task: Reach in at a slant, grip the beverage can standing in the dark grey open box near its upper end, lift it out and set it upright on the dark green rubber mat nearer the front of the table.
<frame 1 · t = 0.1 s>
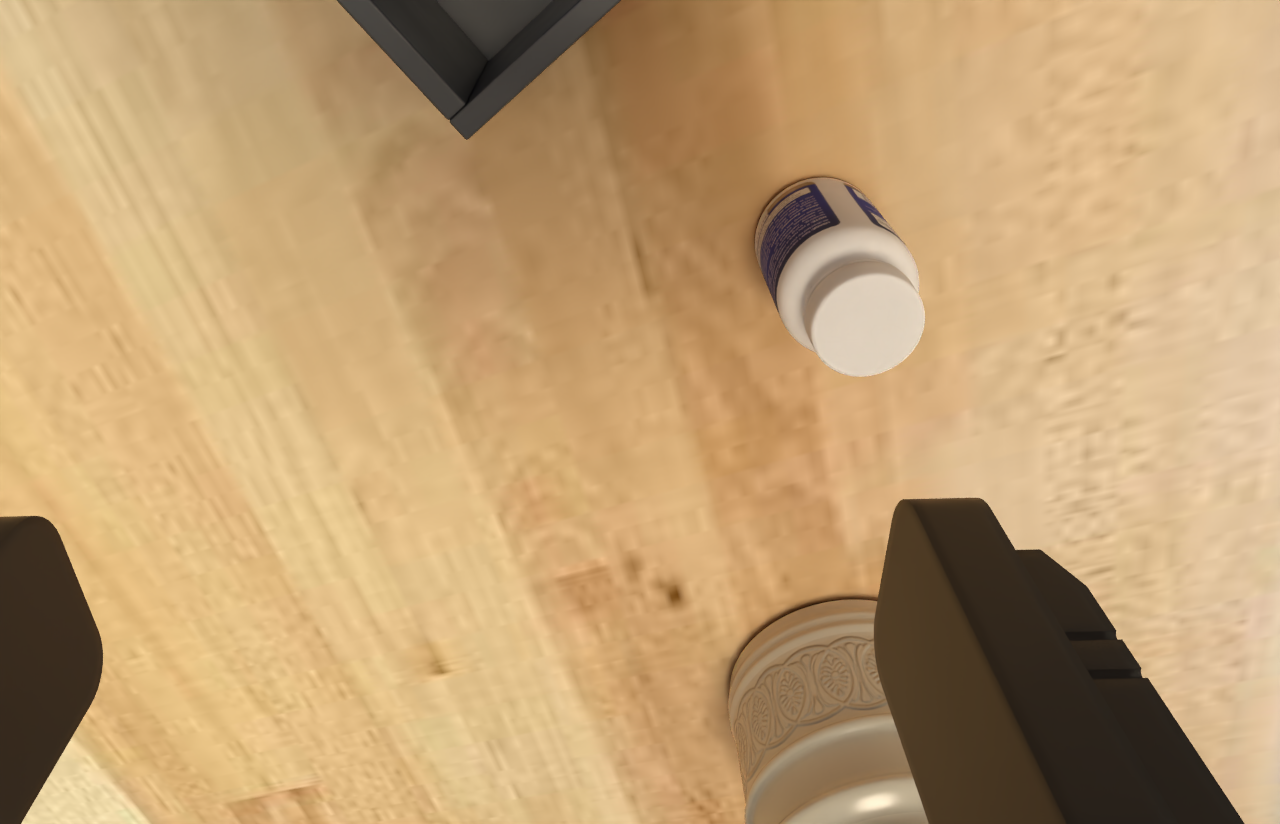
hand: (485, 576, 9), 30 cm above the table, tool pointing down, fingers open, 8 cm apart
jar: (836, 674, 54), on the table
pill bottle: (814, 234, 40), on the table
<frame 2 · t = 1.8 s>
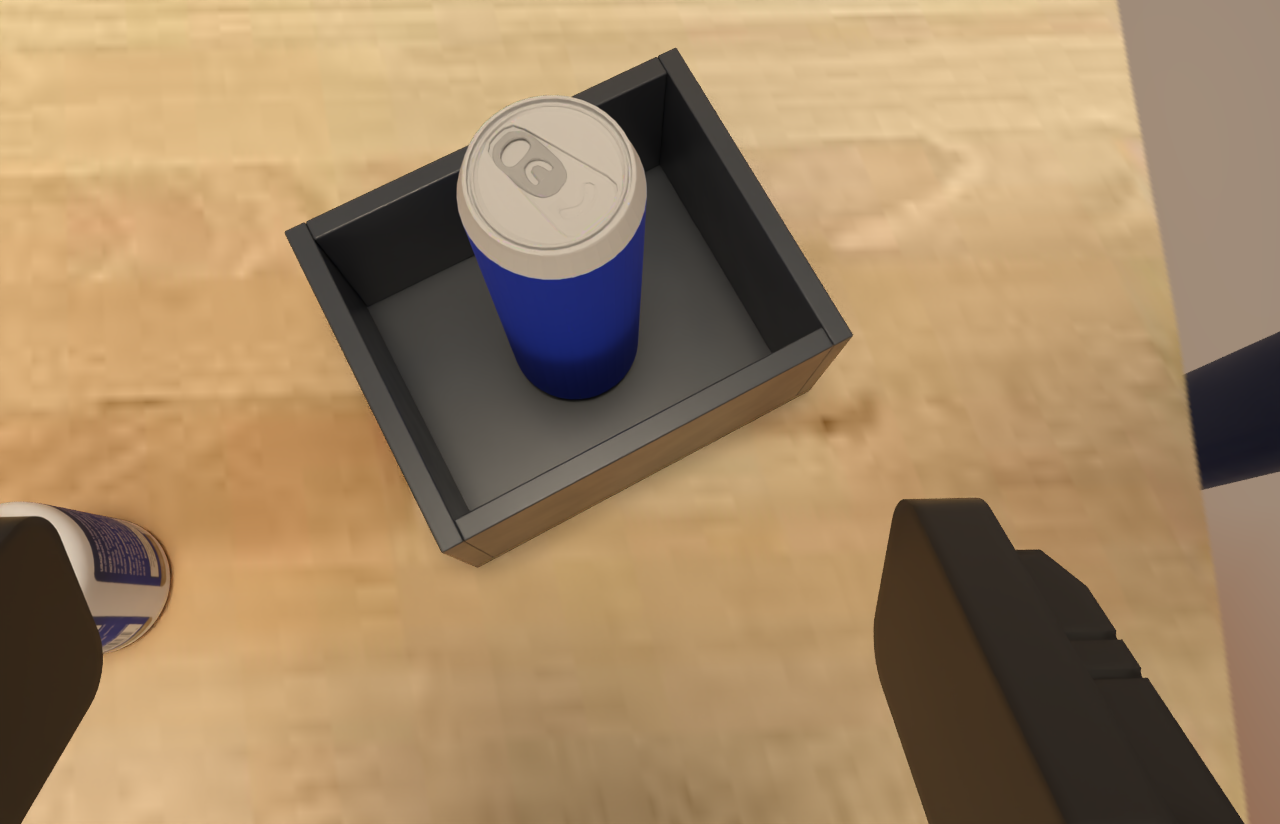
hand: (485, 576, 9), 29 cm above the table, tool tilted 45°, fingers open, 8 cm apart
beverage can: (576, 344, 39), resting on dark grey open box
dark grey open box: (576, 347, 40), on the table
pill bottle: (108, 586, 37), on the table
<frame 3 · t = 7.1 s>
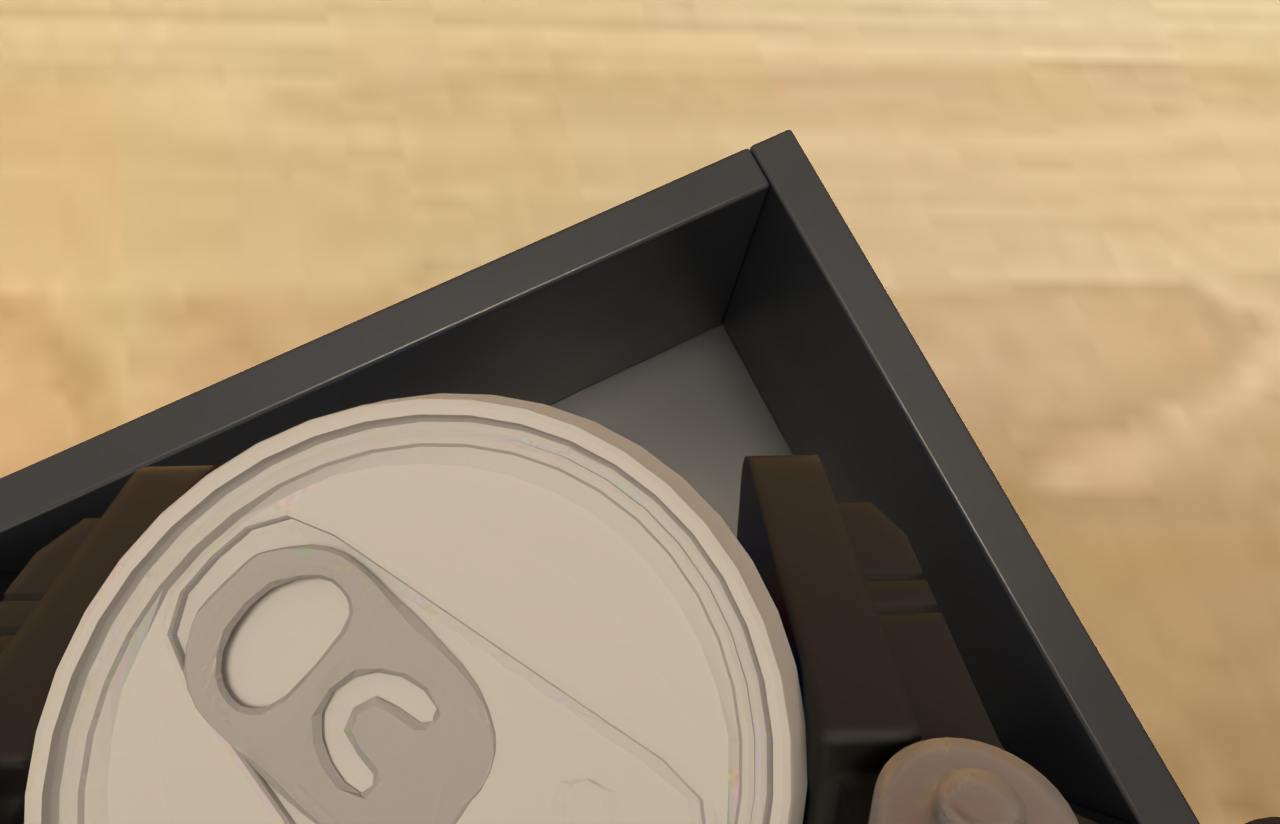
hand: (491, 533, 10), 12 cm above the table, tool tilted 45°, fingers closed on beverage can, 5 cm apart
beverage can: (554, 675, 20), resting on dark grey open box, touching gripper
dark grey open box: (555, 675, 21), on the table
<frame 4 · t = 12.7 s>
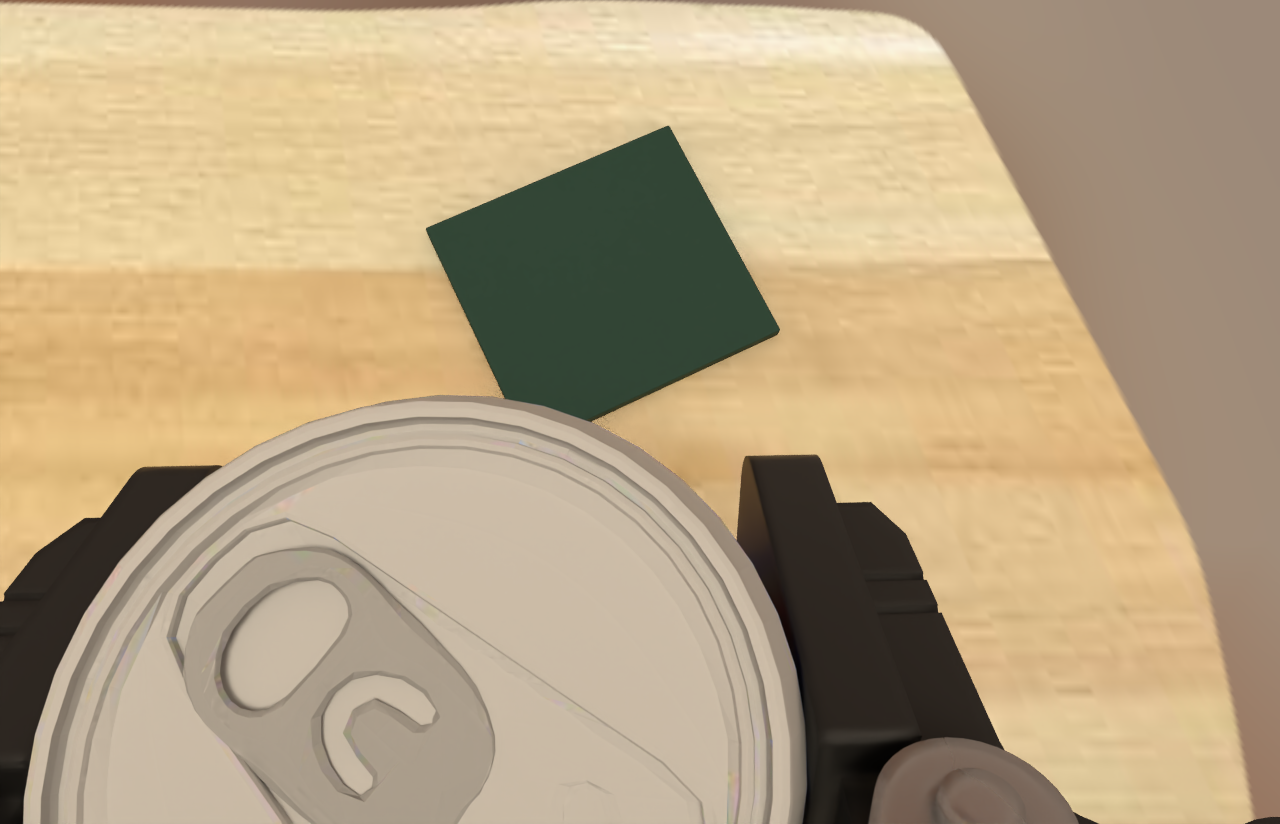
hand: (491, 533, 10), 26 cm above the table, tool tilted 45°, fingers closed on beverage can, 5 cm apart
beverage can: (554, 676, 20), point 15 cm above the table, touching gripper
mat: (601, 283, 38), on the table
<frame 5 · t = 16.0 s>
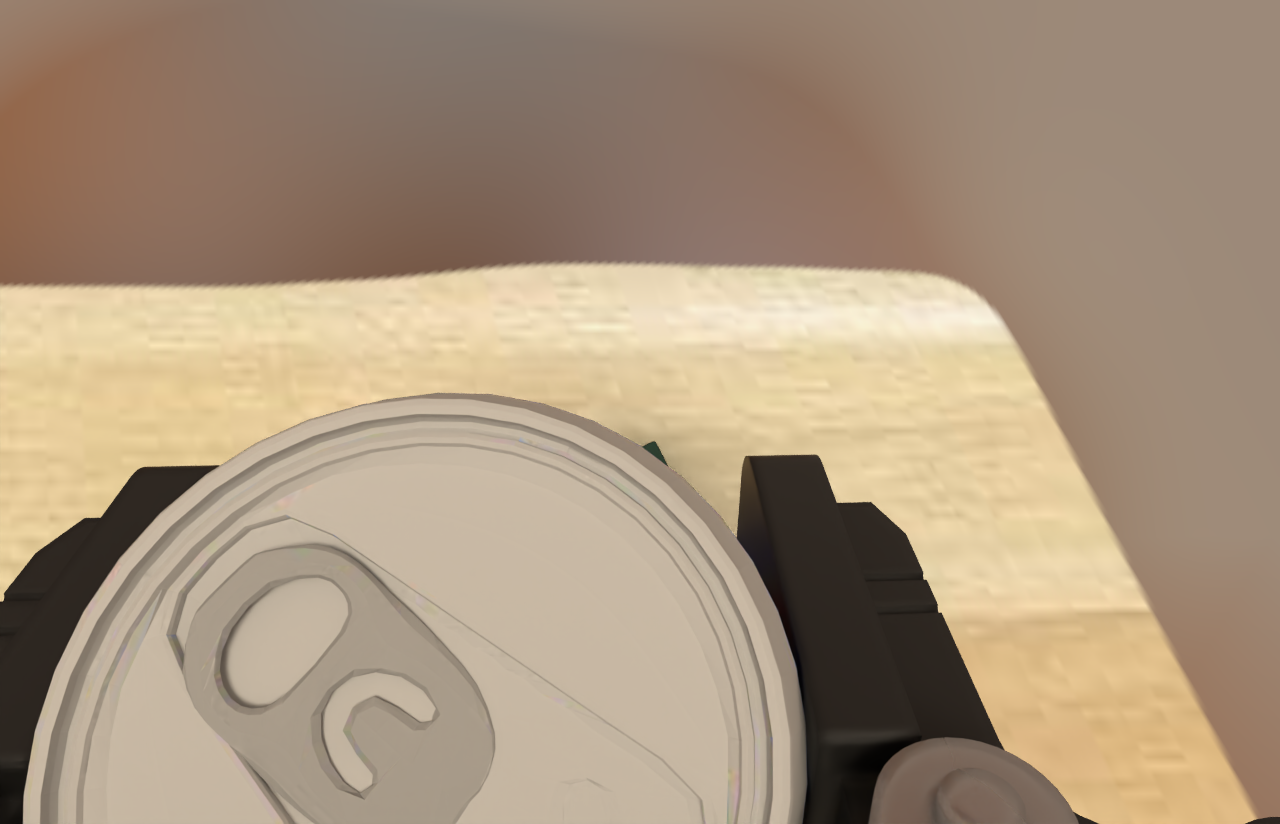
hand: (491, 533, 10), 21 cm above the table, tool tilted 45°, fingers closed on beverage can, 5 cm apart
beverage can: (554, 675, 20), point 9 cm above the table, touching gripper
when the fingers open (12 cm above the table, at t = 18.8 s): beverage can stays where it is, resting on mat.
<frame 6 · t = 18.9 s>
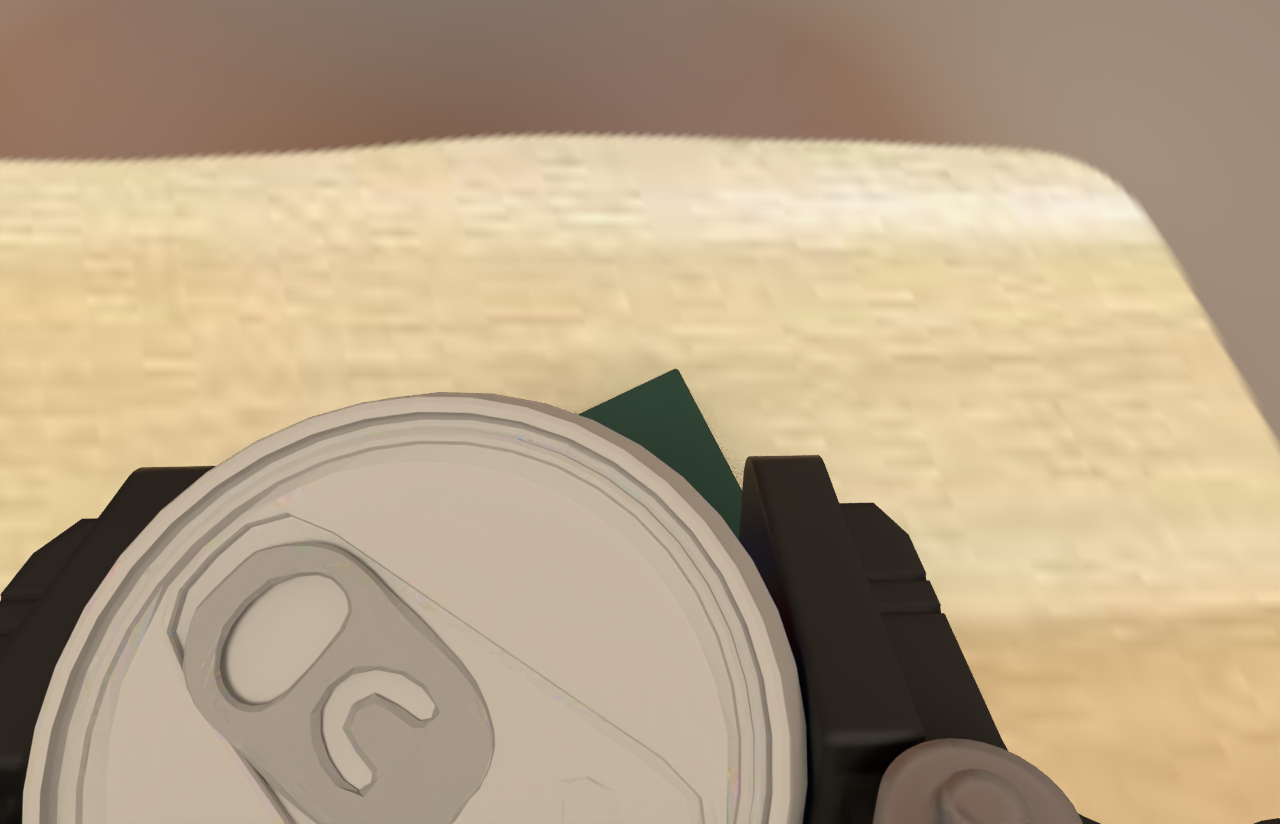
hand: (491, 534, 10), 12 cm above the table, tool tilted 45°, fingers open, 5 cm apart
beverage can: (556, 680, 20), resting on mat
mat: (557, 672, 21), on the table
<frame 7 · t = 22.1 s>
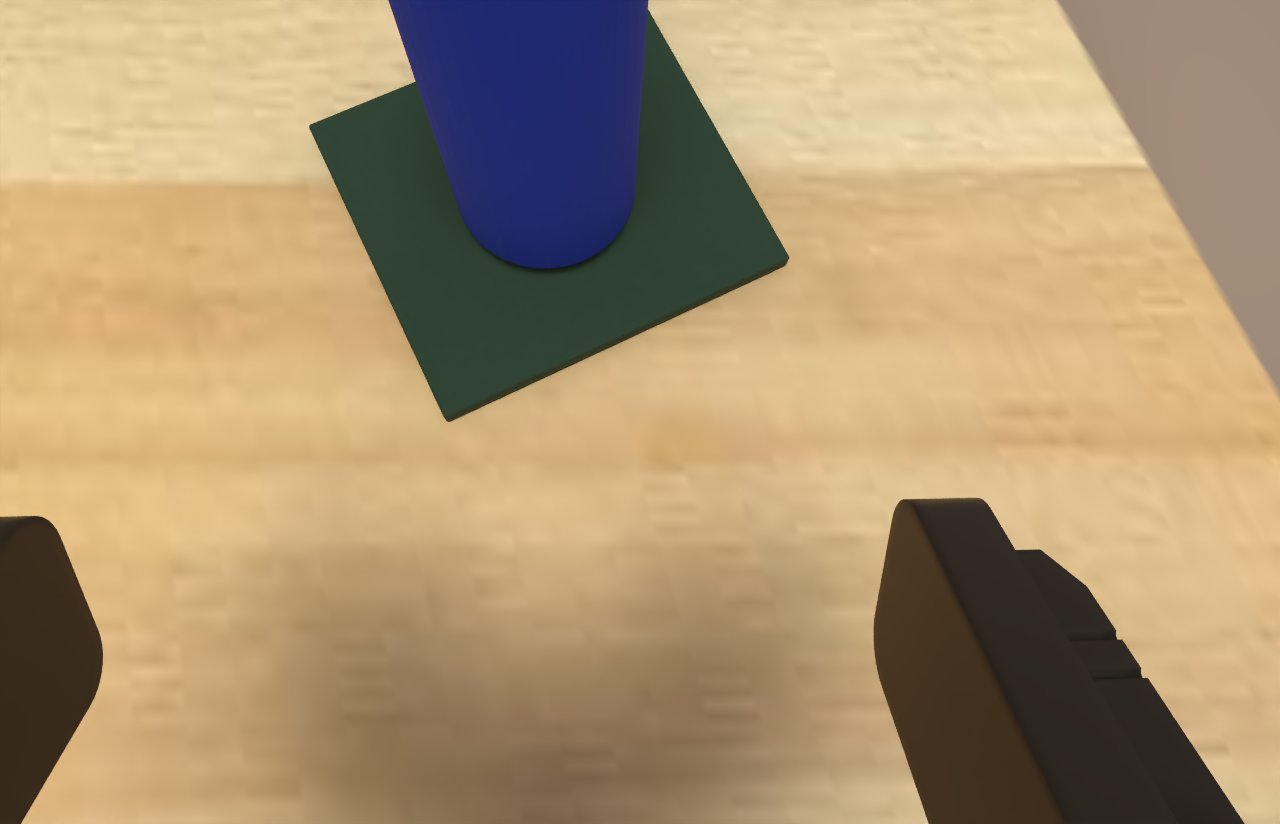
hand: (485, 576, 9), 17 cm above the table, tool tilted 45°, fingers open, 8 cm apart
beverage can: (547, 198, 28), resting on mat
mat: (548, 199, 28), on the table
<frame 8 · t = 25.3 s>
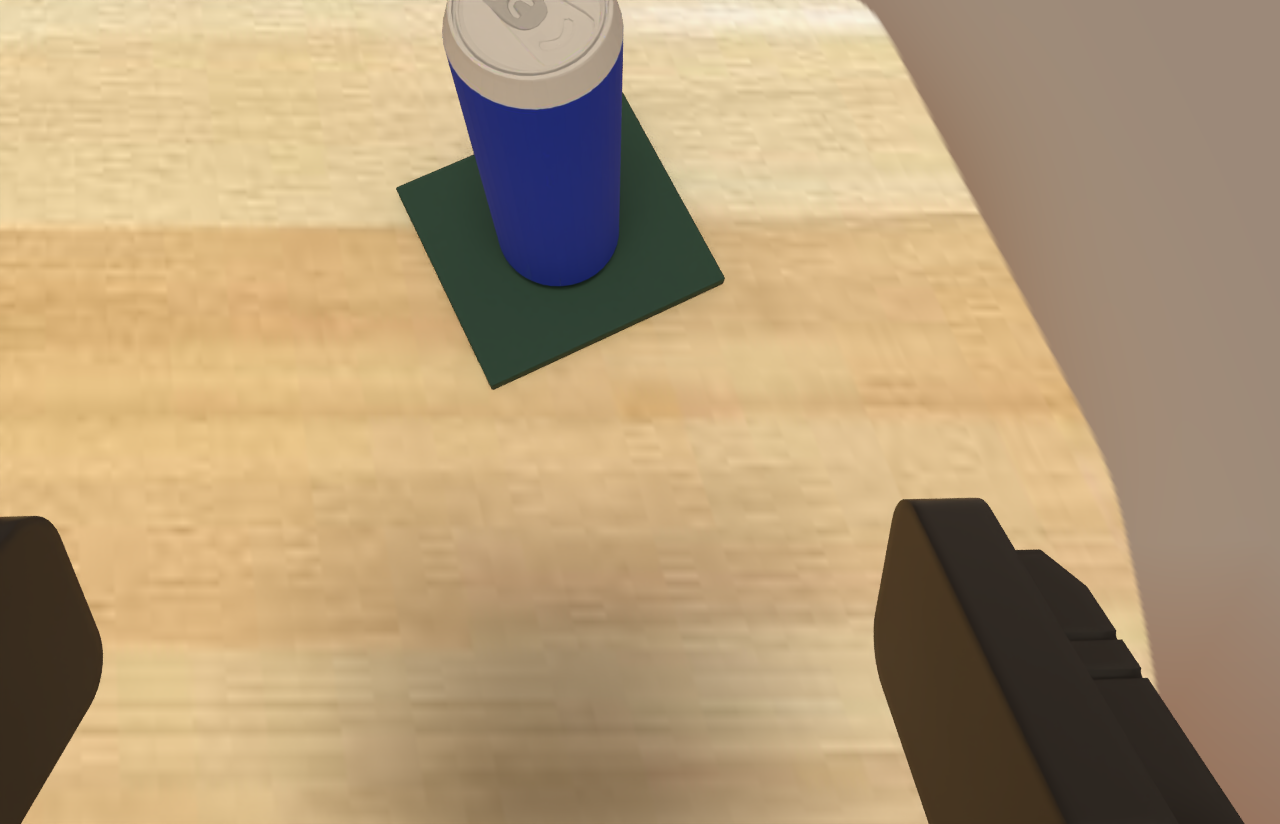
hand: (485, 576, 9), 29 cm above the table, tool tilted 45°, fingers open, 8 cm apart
beverage can: (559, 237, 40), resting on mat
mat: (560, 238, 41), on the table
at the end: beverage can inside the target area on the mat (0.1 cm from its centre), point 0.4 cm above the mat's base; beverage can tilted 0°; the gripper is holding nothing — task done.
